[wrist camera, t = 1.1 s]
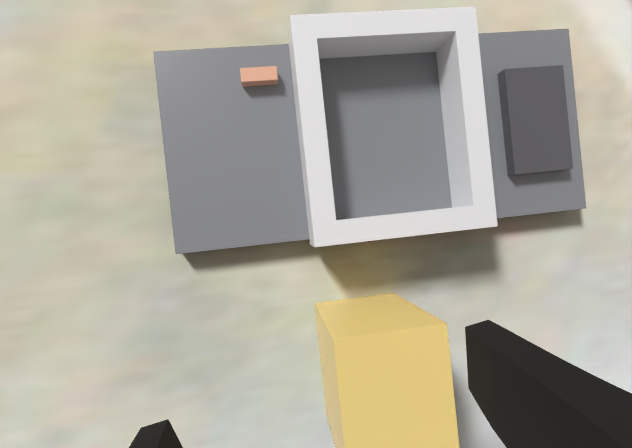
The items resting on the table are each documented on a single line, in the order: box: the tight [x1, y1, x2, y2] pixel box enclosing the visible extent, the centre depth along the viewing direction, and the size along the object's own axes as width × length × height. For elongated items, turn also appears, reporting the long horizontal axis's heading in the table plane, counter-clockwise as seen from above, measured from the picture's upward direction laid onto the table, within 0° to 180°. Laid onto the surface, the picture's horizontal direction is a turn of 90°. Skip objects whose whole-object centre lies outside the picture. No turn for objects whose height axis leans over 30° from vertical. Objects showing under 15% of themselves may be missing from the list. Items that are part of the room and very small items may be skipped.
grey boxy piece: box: [153, 7, 586, 254], centre depth 18 cm, size 20×10×3 cm, turn 96°
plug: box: [315, 293, 459, 448], centre depth 16 cm, size 4×8×6 cm, turn 6°
